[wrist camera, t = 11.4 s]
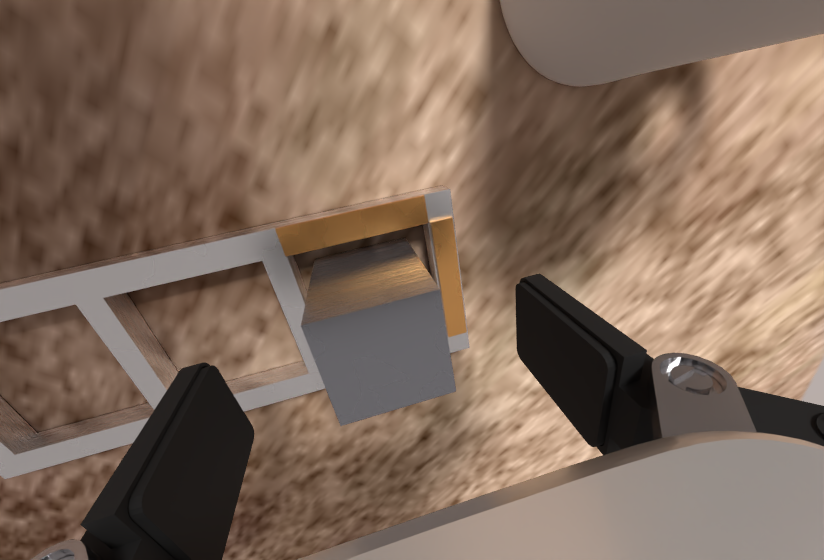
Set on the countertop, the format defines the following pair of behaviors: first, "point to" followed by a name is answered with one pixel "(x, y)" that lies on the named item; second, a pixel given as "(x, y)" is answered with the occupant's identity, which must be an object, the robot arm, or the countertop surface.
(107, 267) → the grey flat frame
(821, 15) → the mug
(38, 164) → the countertop surface
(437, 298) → the grey rectangular block
